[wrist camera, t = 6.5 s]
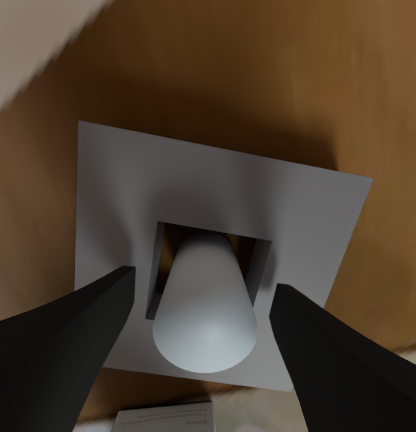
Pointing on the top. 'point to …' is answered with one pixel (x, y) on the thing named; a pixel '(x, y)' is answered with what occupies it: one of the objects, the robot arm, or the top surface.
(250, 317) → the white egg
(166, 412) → the skincare box
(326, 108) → the top surface
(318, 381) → the robot arm
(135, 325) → the dock
